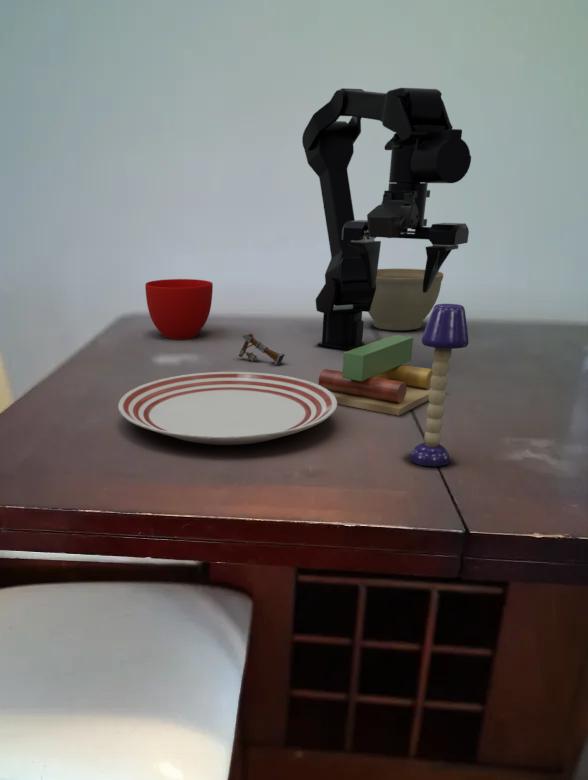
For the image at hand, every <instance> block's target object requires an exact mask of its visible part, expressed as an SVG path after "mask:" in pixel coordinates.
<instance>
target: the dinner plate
mask: <svg viewBox="0 0 588 780" xmlns="http://www.w3.org/2000/svg"><path fill="white" fill-rule="evenodd" d="M117 408H118V411H119V413H120V415H121V416H122V417H123V418H124V419H125V420H126V421H128V422H129V423H131V424H134V425H135V426H138V427H140V428H143V429H145V430H148V431H152V432H155V433H158V434H161V435H164V436H168V437H172V438H175V439H178V440H182V441H185V442H191V443H197V444H202V445H203V444H204V445H213V446H214V445H215V446H216V445H217V446H218V445H219V446H239V445H251V444H257V443H263V442H268V441H272V440H276V439H280V438H282V437H287V436H290V435H293V434H297V433H300V432H303V431H305V430H308V429H310V428H313V427H314V426H317V425H319V424H320V423H323V422H324V421H326V420H327V419H329V417H331V416H332V415H333V414H334V413H335V412H336V410H337V408H338V404H337V400H336V398H335V396H334V395H333V394H332V393H331V392H330V391H329V390H327V389H326V388H324V387H322V386H320V385H319V383H316V382H313V381H309V380H306V379H302V378H297V377H294V376H289V375H281V374H277V373H268V372H267V373H265V372H251V371H210V372H197V373H189V374H188V373H187V374H181V375H176V376H170V377H166V378H159V379H157V380H153V381H150V382H147V383H143V384H142V385H139V386H137V387H135V388H133V389H131V390H129V391H128V392H126V393H125V394H124V395H122V397H121V399H119V401H118V405H117Z"/></svg>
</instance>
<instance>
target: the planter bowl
mask: <svg viewBox="0 0 588 780" xmlns="http://www.w3.org/2000/svg"><path fill="white" fill-rule="evenodd" d="M424 274H425V268H396V267H395V268H394V267H393V268H378V270H377V279H376V291H375V295H374V298H373V301H372V305H371V308H370V311H369V312H367V313H368V314H369V316H370V317H371V319H372V321H373V327H375V328H376V329H379V330H385V331H413V330H418V329H421V328H422V325H423V321H424V320H425V319H426V318H427V317H428V315H429V314H431V312H432V310H433V308H434V306H435V305H436V302H437V299H438V297H439V296H440V291H441V287H442V282H443V279H444V272H442V271H440V270H439V271H438V273H437V275H436V277H435V279H434V281H433V282H432V284H431V286H430V288H429V290H428V292H426V293H423V280H424Z"/></svg>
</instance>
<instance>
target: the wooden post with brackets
mask: <svg viewBox="0 0 588 780" xmlns="http://www.w3.org/2000/svg"><path fill="white" fill-rule="evenodd" d="M242 337H243V340H245V341H244V343H243V346H242V348H240V351H239V354H238V357H240V358H243V357H244V355H245V357H246V356H247V360H248V359H249V360H250V361H251V362H258V361H259V358H258V355H255V354H253V352H250V351H249V352H248V351H247V349H248V348H250V347H252V346H254V348H255V349H257V350H258V351H260V352H261V353H262V354H265V355H267V356H268V357H269V358H271V359H272V360H273V361H274V365H275V366H277V365H280V364H282V361H283V360H284V357H285V355H286V353H283V352H282V353H278V352H275V351H273V350H272V349H270V348H269V347H268V346H267V345H266V344H264V343H262V341H259V340H257V339H256V338H255V337H254V334H253V333H249V332H248V333H246V332H244V333H243V334H242ZM249 344H250V345H249Z"/></svg>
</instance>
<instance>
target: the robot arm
mask: <svg viewBox="0 0 588 780" xmlns="http://www.w3.org/2000/svg"><path fill="white" fill-rule="evenodd" d="M442 94H443V93H442V92H441V91H440V90H439V89H437V88H422V87H421V88H420V87H418V88H417V87H398V88H393V89H391V90H388V91H387V92H378V91H368V90H364V89H362V88H344V87H343V88H339V89H338V90H336V91H335V92H334V93H333V95H332V96H331V99H330V100H329V101H328V102H327V103H325V104H324V105H323V106H322V107H320V108H319V109H318V110H317V111H316V112H314V113H313V114H312V116H311V118H310V119H309V122H308V123H307V125H306V127H305V128H304V131H303V133H302V139H301V140H302V142H301V143H302V147H303V150H304V153H305V158H306V161H307V164H308V166H309V167H310V168H311V170H312V171H314V173H315V174H316V176H317V177H318V179H319V184H320V192H321V198H322V204H323V211H324V212H323V213H324V218H325V225H326V231H327V238H328V244H329V251H330V261H329V263H328V266H327V268H326V271H325V273H324V281H325V284H324V285H323V286H322V288H321V289H320V291H319V293H318V295H317V296H316V298H315V309H316V312H318V313H322V314H323V315H322V317H323V318H322V333H321V334H322V335H321V341H319V342H317V344H316V346H319V347H325V348H332V349H339V350H345V351H350V350H352V349H355V348H358V347H361V346H364V345H365V341H363V336H364V323H365V321H364V320H363V313H364V312H366V313H368V312H369V311H370V308H371V305H372V301H373V298H374V295H375V291H376V279H377V270H378V269H379V261H380V252H381V246H382V243H381V242H382V241H381V240H376V238H387V239H407V240H408V239H411V240H428V241H429V242H430V243H431V244H432V245H429V246H425V253H426V262H425V268H424V269H425V274H424V280H423V293H426V292H428V290H429V288H430V286H431V284H432V282H433V281H434V279H435V277H436V275H437V273H438V271H439V272H440V269H441V268H442V267H443V264H444V262H445V261H446V259H447V258H448V256H449V255H450V253H451V252H452V251H453V250H458V249H459V245H464V244H467V243H468V242H469V234H470V231H469V227H468V225H467V224H466V223H465V222H440V223H432V224H431V225H430V226H428V225H427V224H428V219H427V218H425V214H426V213H425V211H426V203H427V198H430V197H431V189H428V184H455V183H458V182H460V181H462V179H463V178H464V177H466V175H467V173H468V171H469V169H470V168H471V167H470V166H471V163H472V155H471V151H470V147H469V145H468V144H467V143H466V141H464V140H463V139H462V135H463V130H462V129H461V128H453V125H452V122H451V120H450V118H449V115H448V111H447V108H446V106H445V102H444V100H443V99H442ZM340 117H350V119H349V121H348V122H347V121H343V120H339V119H340ZM362 119H368V120H374V121H379V122H381V124H382V126H383V128H386V129H387V130H389V131H391V132H393V136H392V138H390V139H389V140H388V141H387V142H386V143H385V145H384V148H383V149H384V150H385V151H391V152H390V153H391V155H390V156H391V157H390V166H389V178H388V189H387V190H384V191H383V194H382V201H381V203H380V204H379V205H377V206H375V207H374V208H373V209H372V210H370V212H368V213H367V214H366V219H358V220H357V219H356V218H355V212H354V206H353V199H352V193H351V185H350V179H349V173H348V169H349V168H348V167H349V165H350V163H351V160H352V158H353V155H354V153H355V151H354V149H355V148H354V143H355V142H356V141H357V139H358V138H359V136H360V135H361V132H362V121H361V120H362ZM409 229H410V230H409Z"/></svg>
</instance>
